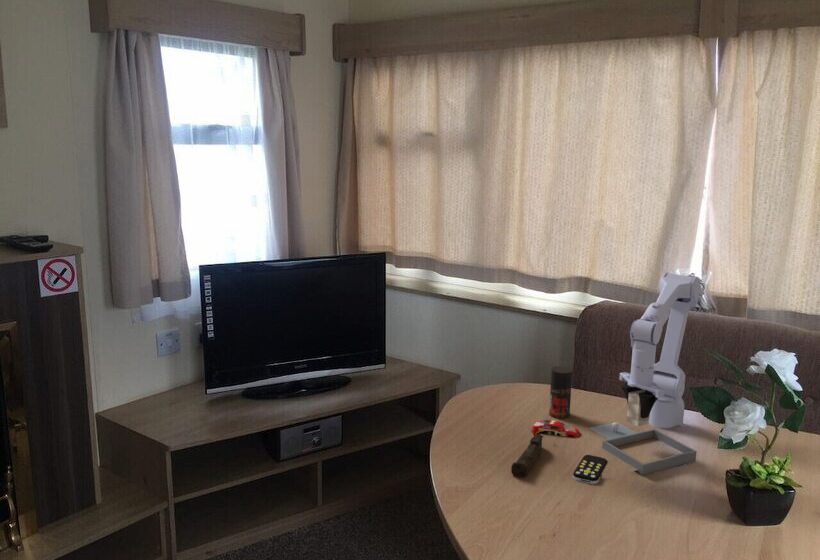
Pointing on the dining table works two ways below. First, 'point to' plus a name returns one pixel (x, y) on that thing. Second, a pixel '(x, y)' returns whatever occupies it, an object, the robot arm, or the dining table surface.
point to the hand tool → (527, 457)
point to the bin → (653, 466)
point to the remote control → (590, 469)
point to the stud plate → (612, 430)
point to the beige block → (635, 410)
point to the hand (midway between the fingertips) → (638, 414)
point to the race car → (554, 428)
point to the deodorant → (560, 392)
